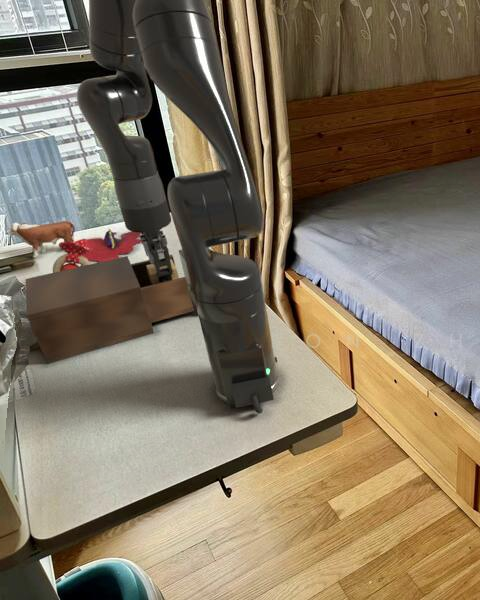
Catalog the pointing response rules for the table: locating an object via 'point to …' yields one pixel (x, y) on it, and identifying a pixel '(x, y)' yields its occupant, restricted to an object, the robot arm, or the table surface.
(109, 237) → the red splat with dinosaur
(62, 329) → the cabinet
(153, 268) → the beech block
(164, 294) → the drawer
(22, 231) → the bull figurine
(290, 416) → the table surface
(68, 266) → the bird rattle
